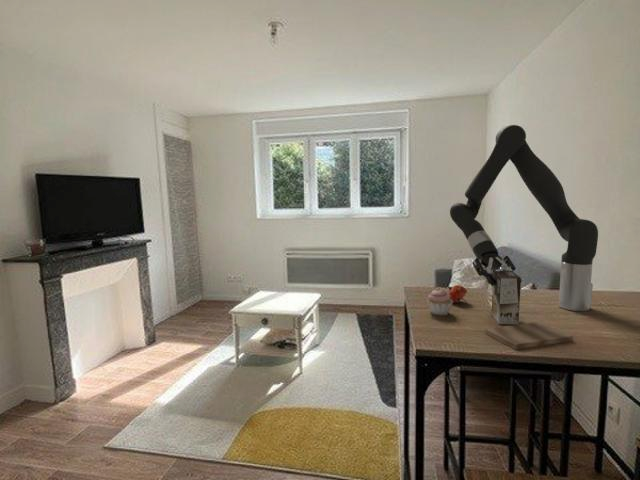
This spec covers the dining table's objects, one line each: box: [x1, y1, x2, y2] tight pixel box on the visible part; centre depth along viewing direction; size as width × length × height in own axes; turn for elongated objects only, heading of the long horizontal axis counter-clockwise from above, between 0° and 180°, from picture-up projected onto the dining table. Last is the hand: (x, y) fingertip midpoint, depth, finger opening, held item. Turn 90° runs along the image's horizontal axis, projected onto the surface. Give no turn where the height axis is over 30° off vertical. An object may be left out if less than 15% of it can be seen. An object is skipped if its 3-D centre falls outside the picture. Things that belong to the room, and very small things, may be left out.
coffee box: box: [491, 270, 522, 325], centre depth 118 cm, size 9×6×16 cm
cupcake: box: [426, 286, 454, 317], centre depth 128 cm, size 9×9×10 cm
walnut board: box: [485, 321, 574, 351], centre depth 106 cm, size 20×12×2 cm, turn 104°
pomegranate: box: [446, 284, 468, 304], centre depth 140 cm, size 7×7×10 cm
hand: (504, 283), depth 120 cm, fingers closed on coffee box, 7 cm apart
